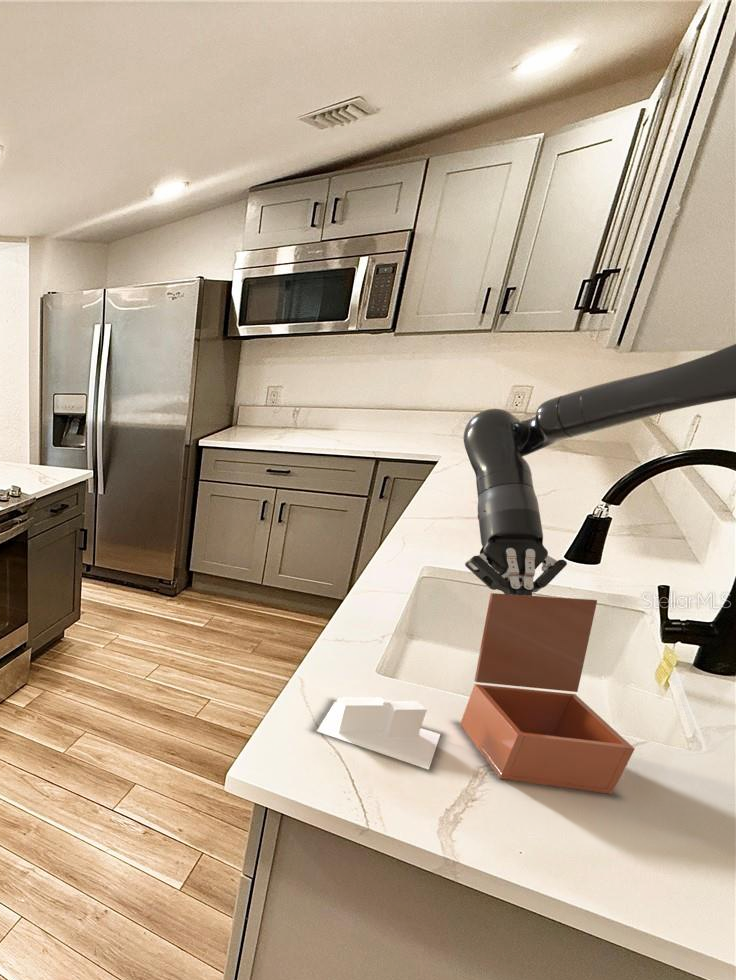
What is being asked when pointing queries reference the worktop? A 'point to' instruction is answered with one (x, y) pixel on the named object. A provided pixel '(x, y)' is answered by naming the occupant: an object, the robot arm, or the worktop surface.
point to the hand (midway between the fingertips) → (521, 613)
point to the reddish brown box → (545, 738)
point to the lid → (535, 641)
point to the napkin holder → (383, 727)
